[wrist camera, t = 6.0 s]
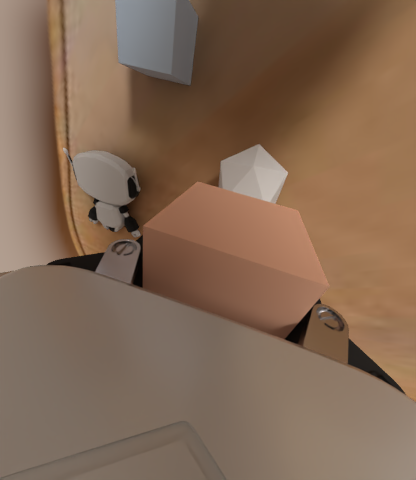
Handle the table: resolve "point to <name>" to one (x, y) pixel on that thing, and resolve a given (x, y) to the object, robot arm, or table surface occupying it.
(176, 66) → the slate block
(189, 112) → the table surface
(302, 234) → the terracotta block
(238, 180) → the die
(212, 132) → the table surface
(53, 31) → the table surface
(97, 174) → the robot toy
